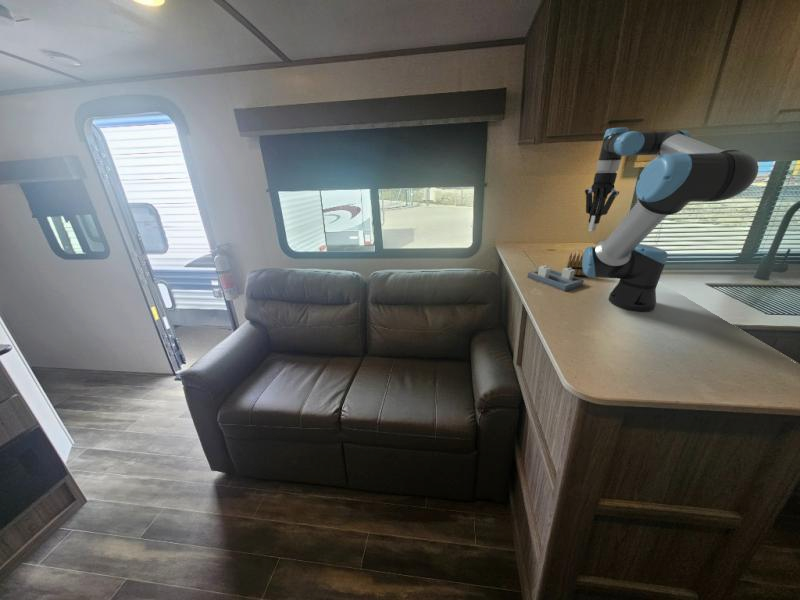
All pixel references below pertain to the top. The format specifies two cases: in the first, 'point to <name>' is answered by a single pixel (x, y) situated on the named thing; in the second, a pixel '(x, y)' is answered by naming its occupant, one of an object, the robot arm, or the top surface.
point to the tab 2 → (568, 273)
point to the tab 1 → (544, 271)
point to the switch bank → (556, 280)
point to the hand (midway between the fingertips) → (591, 230)
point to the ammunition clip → (576, 265)
